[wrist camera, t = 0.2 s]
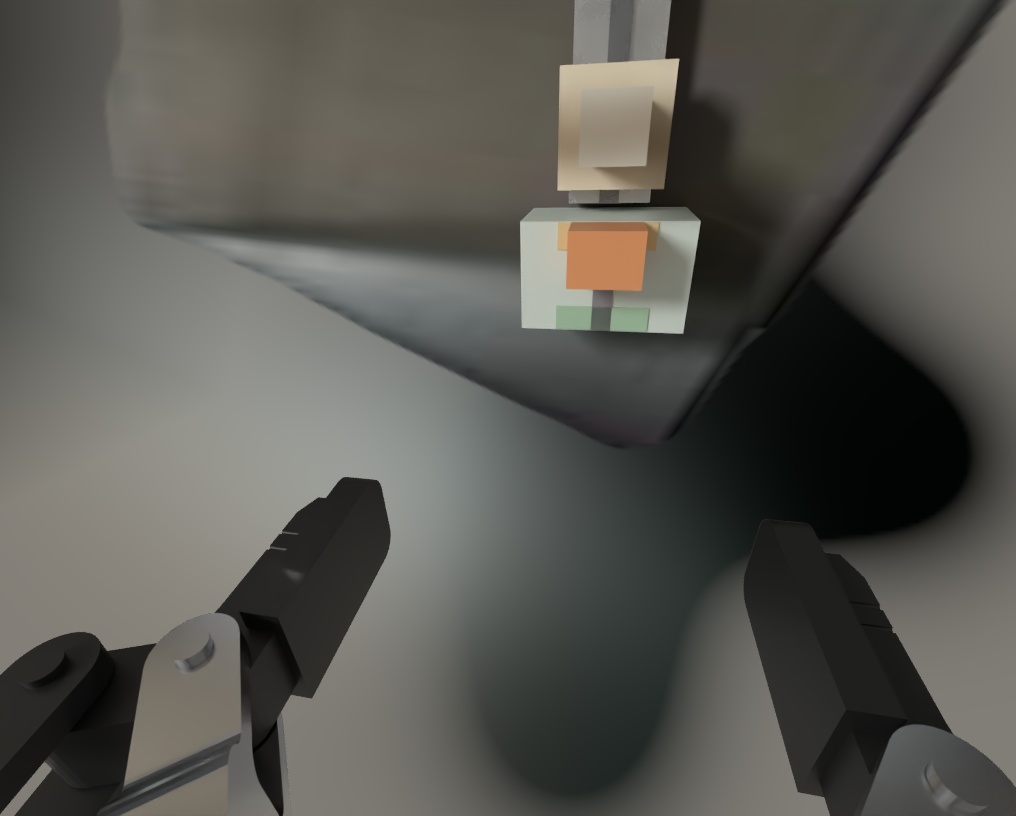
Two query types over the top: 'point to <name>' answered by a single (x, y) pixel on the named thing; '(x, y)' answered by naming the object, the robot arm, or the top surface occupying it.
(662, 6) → the gray t-shaped block
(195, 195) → the top surface
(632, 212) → the white rectangular block
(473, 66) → the top surface
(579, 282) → the orange foam cube
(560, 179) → the cream t-shaped block
